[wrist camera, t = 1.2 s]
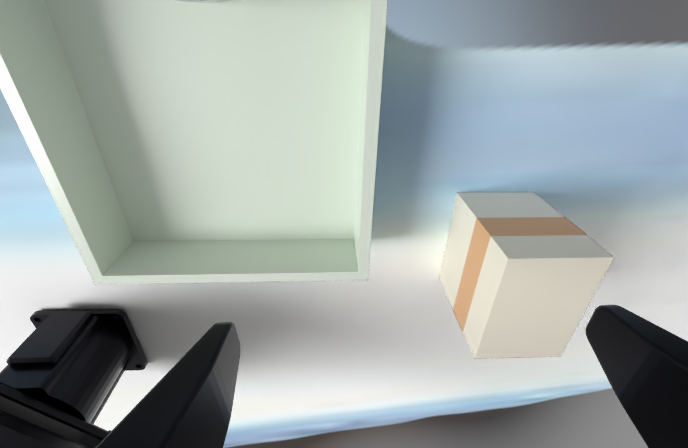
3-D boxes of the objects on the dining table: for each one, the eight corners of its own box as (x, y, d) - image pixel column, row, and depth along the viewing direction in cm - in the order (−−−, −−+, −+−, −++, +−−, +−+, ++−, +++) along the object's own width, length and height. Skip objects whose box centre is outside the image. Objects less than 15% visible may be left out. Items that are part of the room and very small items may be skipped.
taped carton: (504, 276, 25) (561, 356, 19) (438, 277, 25) (474, 359, 19) (533, 191, 21) (614, 256, 15) (456, 191, 21) (508, 258, 15)
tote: (361, 241, 23) (368, 280, 19) (131, 243, 22) (94, 284, 18) (388, -261, 12) (414, -380, 8) (-70, -289, 11) (-251, -432, 8)
